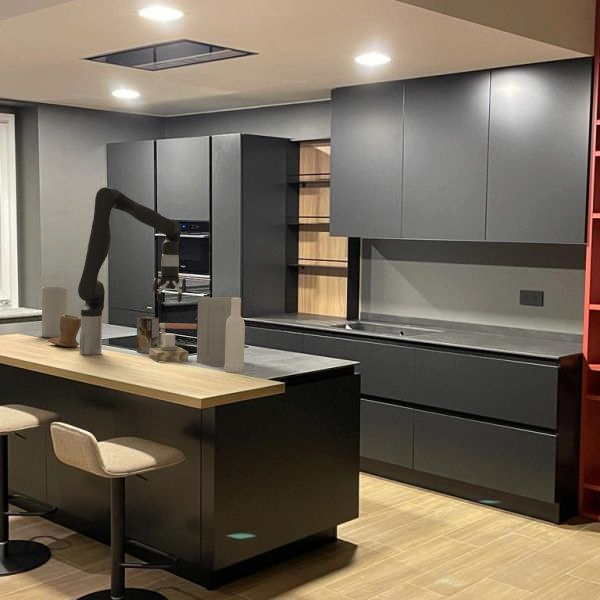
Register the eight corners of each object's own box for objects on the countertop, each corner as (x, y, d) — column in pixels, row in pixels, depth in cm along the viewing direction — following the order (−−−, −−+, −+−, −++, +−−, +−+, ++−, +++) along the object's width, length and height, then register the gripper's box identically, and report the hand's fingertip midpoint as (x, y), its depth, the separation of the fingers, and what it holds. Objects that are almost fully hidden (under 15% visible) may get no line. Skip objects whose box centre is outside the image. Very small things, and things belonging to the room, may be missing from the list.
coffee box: (160, 352, 396) (160, 317, 395) (151, 353, 390) (152, 318, 389) (144, 350, 400) (145, 316, 399) (135, 352, 394) (136, 317, 393)
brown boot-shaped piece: (86, 347, 406) (86, 315, 405) (63, 348, 397) (63, 316, 396) (69, 343, 417) (70, 312, 415) (47, 345, 408) (47, 313, 407)
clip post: (158, 356, 383) (158, 329, 382) (155, 354, 388) (156, 328, 387) (169, 355, 385) (169, 329, 384) (166, 354, 390) (166, 327, 389)
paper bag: (211, 367, 357) (213, 300, 355) (196, 362, 370) (197, 297, 368) (251, 364, 368) (253, 300, 366) (234, 359, 380) (236, 297, 378)
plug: (162, 360, 372) (163, 335, 371) (159, 358, 378) (159, 333, 377) (177, 359, 375) (178, 335, 374) (173, 357, 381) (174, 333, 380)
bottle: (233, 368, 355) (235, 297, 353) (247, 371, 350) (249, 298, 348) (220, 370, 349) (222, 297, 347) (234, 373, 344) (236, 299, 342)
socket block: (156, 361, 367) (156, 352, 367) (149, 357, 380) (149, 348, 380) (188, 360, 373) (188, 351, 373) (179, 356, 386) (179, 347, 385)
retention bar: (196, 329, 385) (196, 324, 385) (159, 328, 384) (159, 323, 384) (196, 328, 388) (196, 323, 388) (159, 327, 387) (159, 323, 387)
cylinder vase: (36, 336, 436) (37, 288, 434) (50, 334, 448) (51, 286, 446) (58, 338, 433) (58, 289, 431) (71, 335, 445) (72, 287, 443)
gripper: (156, 265, 367) (155, 303, 368) (188, 265, 373) (187, 302, 374) (151, 264, 374) (151, 301, 375) (183, 265, 380) (182, 301, 381)
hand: (169, 302), depth 375 cm, fingers open, 8 cm apart
